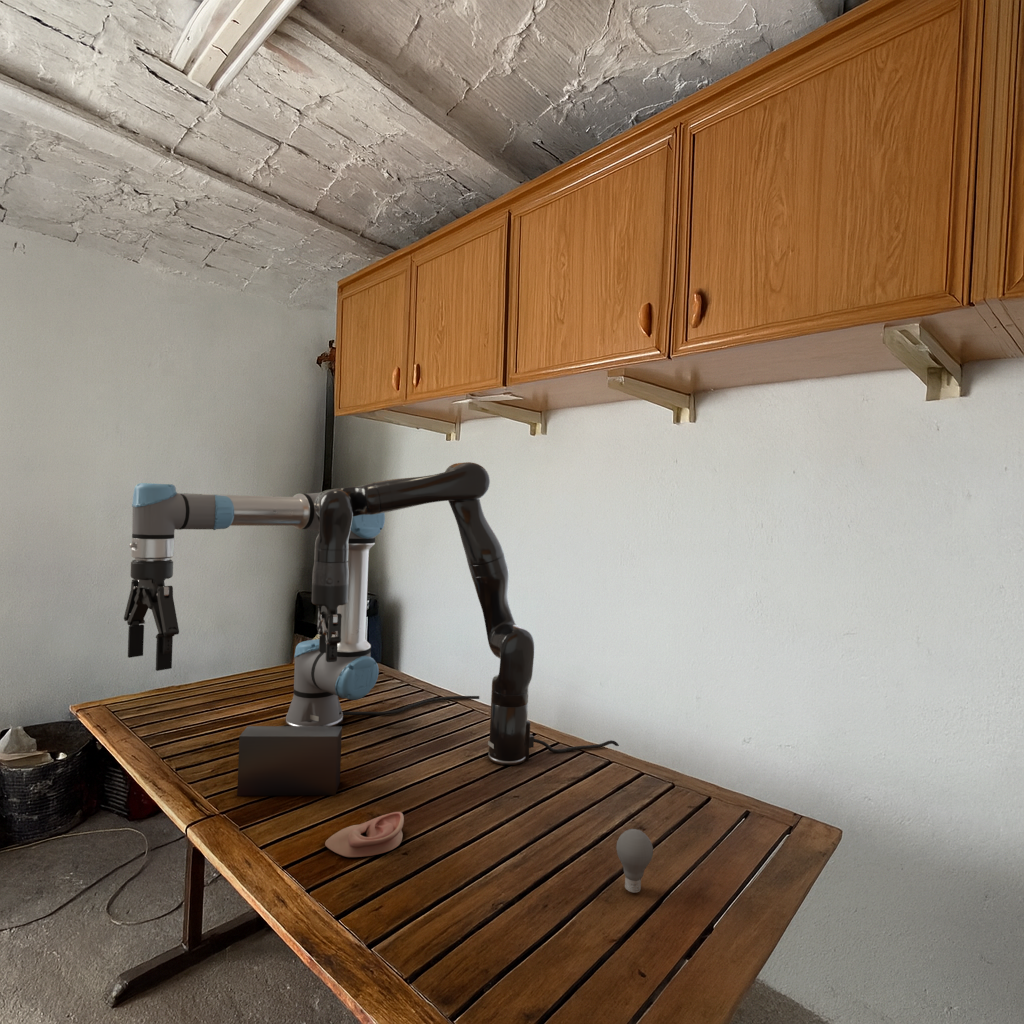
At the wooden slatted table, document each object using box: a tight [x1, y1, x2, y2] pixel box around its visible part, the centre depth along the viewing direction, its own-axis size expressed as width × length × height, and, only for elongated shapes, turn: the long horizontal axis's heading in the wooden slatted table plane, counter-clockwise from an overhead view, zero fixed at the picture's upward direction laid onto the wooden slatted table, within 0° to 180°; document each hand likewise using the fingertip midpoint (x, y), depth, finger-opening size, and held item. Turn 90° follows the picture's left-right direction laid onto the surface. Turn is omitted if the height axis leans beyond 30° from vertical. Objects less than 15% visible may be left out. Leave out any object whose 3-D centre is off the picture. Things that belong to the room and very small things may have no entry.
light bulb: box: [615, 828, 654, 894], centre depth 106 cm, size 6×6×10 cm
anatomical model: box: [324, 811, 405, 858], centre depth 117 cm, size 13×4×12 cm
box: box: [236, 725, 343, 797], centre depth 136 cm, size 20×6×13 cm, turn 96°
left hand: (149, 662), depth 129 cm, fingers open, 13 cm apart
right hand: (327, 656), depth 137 cm, fingers open, 8 cm apart
